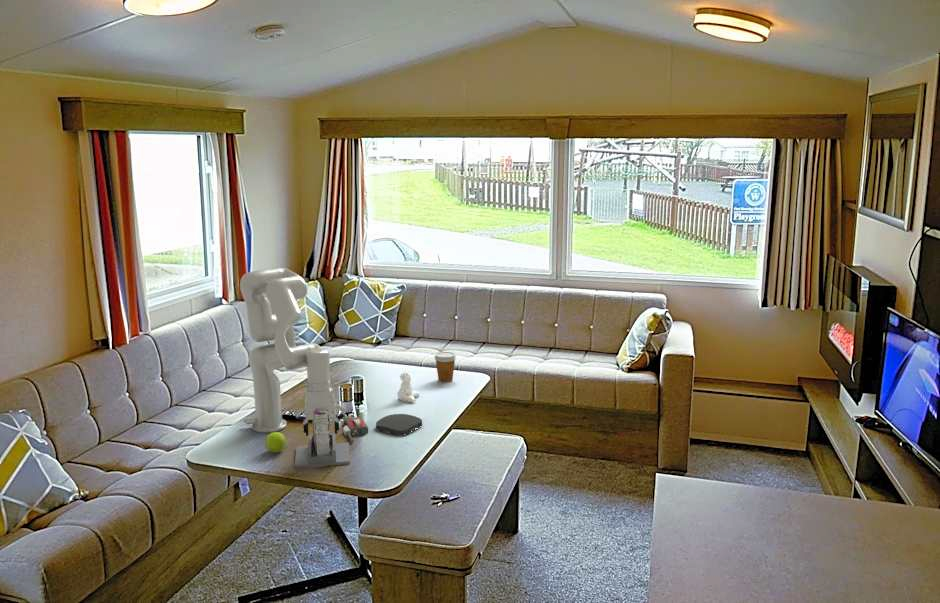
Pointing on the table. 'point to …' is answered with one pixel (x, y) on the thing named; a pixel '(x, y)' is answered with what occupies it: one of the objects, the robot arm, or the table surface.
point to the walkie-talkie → (354, 427)
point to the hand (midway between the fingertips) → (321, 433)
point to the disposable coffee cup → (445, 366)
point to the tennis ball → (275, 442)
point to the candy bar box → (321, 433)
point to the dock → (309, 458)
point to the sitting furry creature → (407, 389)
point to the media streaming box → (398, 424)
